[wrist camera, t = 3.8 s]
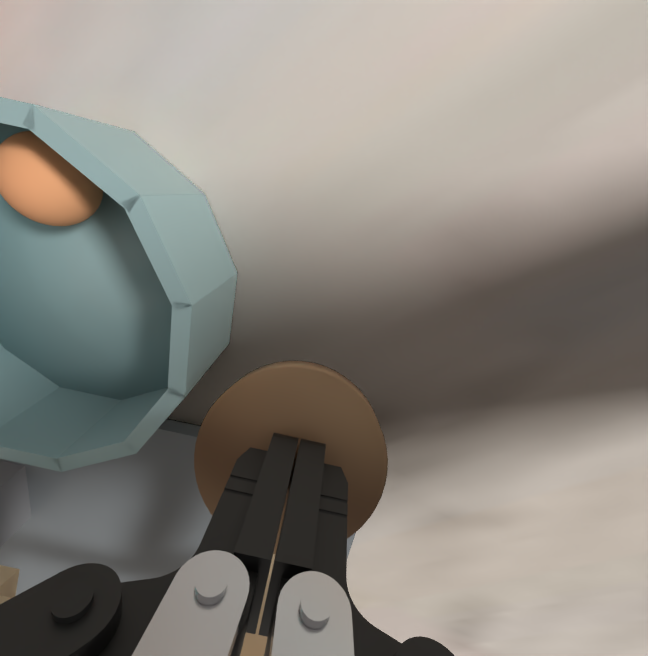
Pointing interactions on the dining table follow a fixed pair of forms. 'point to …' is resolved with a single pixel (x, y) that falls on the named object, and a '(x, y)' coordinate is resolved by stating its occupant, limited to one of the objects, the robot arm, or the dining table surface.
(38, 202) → the ball
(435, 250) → the dining table surface
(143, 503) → the stand
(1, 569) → the lever
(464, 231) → the dining table surface
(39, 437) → the bowl
